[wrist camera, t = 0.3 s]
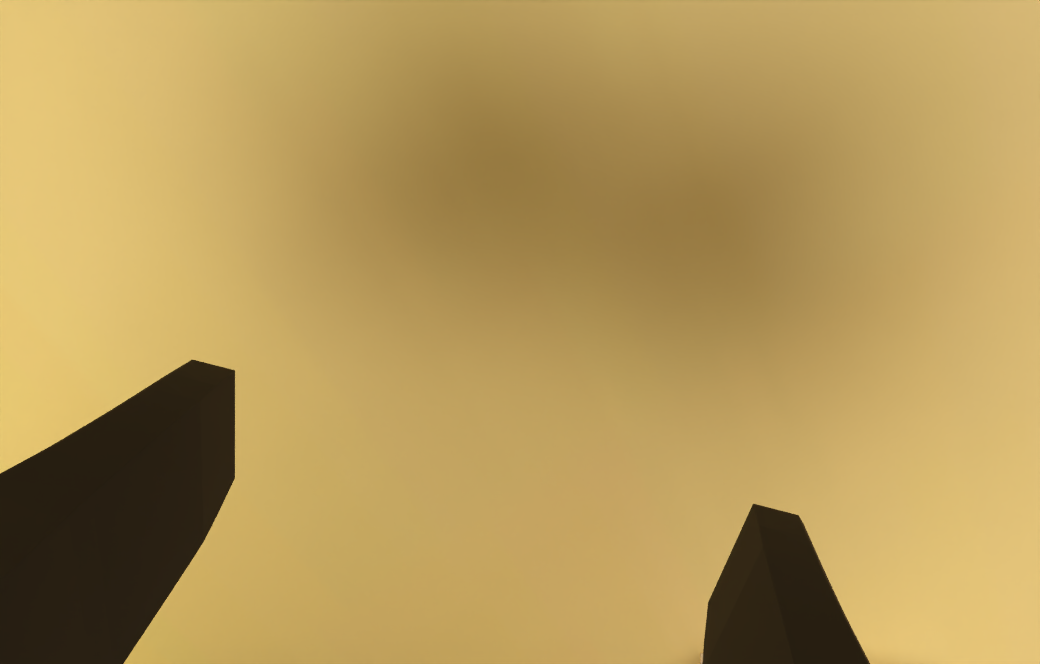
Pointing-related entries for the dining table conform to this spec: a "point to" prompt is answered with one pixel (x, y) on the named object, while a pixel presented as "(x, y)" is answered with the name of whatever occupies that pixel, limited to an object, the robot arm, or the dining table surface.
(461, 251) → the dining table surface
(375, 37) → the dining table surface
